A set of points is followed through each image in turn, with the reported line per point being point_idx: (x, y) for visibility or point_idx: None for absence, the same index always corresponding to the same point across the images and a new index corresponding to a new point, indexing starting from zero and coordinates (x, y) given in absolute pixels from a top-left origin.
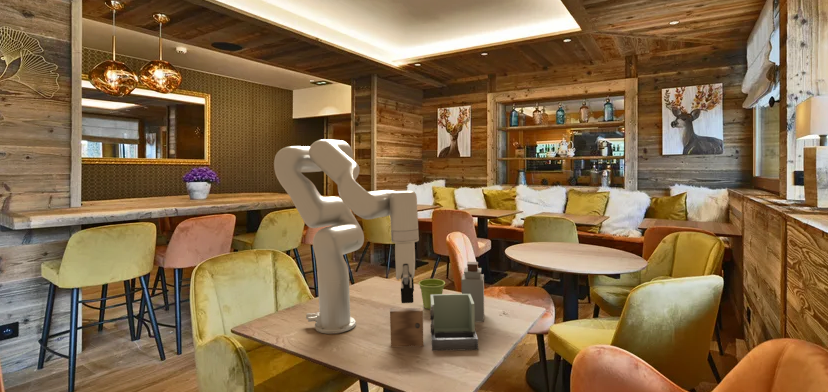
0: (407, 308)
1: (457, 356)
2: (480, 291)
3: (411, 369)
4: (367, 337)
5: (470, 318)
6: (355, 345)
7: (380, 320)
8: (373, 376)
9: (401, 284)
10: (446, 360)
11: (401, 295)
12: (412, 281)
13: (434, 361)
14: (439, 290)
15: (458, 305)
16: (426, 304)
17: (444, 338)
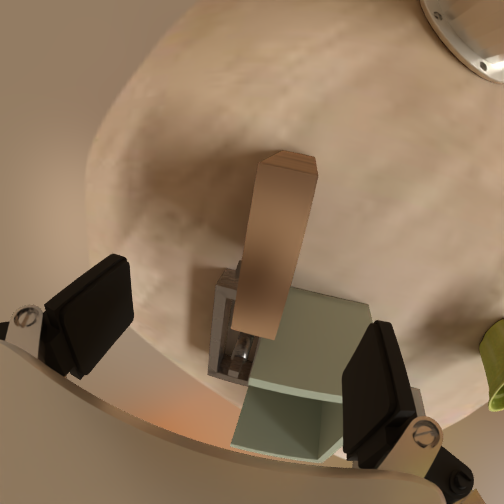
0: (285, 275)
1: (188, 311)
2: (356, 467)
3: (135, 193)
4: (380, 83)
5: (273, 407)
6: (319, 36)
7: (497, 169)
8: (118, 100)
9: (9, 327)
10: (171, 283)
11: (81, 278)
12: (345, 434)
13: (168, 256)
14: (489, 389)
15: (331, 419)
16: (499, 330)
17: (220, 318)
